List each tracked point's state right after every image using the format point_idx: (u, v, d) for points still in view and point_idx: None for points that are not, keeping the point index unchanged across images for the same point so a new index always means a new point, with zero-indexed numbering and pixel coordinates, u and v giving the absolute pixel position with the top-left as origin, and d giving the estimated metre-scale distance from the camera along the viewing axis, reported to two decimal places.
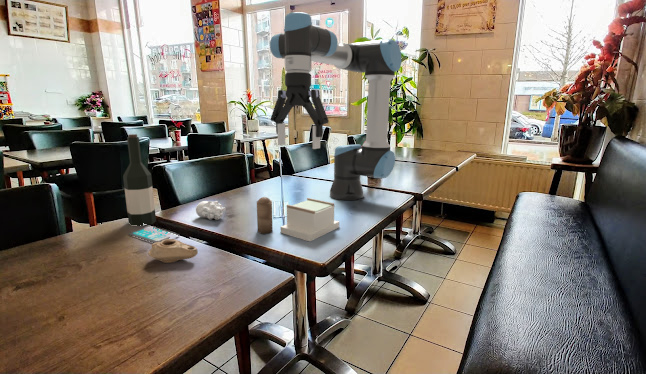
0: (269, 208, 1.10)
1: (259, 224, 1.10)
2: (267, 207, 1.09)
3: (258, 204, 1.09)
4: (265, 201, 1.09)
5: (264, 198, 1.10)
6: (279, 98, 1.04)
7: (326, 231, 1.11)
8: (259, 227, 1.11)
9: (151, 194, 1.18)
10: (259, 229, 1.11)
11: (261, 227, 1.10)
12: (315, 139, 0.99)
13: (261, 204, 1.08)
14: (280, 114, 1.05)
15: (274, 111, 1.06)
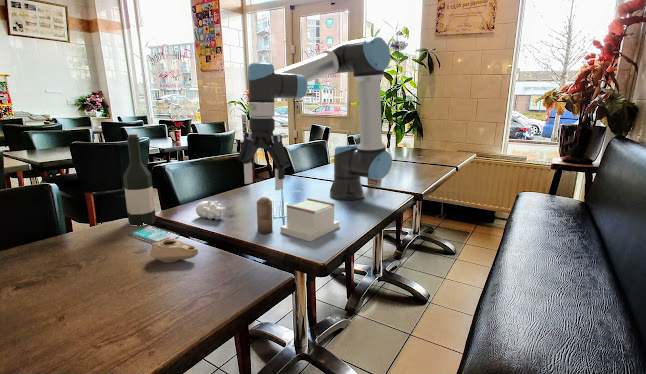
0: (269, 208, 1.10)
1: (259, 224, 1.10)
2: (267, 207, 1.09)
3: (258, 204, 1.09)
4: (265, 201, 1.09)
5: (264, 198, 1.10)
6: (245, 140, 1.09)
7: (326, 231, 1.11)
8: (259, 227, 1.11)
9: (151, 194, 1.18)
10: (259, 229, 1.11)
11: (261, 227, 1.10)
12: (277, 181, 1.04)
13: (261, 204, 1.08)
14: (246, 155, 1.10)
15: (241, 152, 1.11)
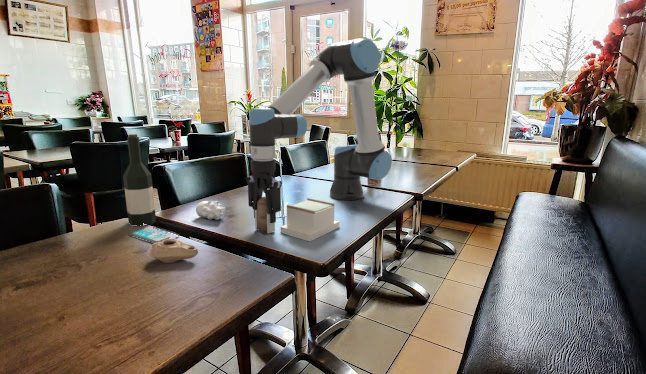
0: None
1: (260, 224, 1.11)
2: None
3: (259, 204, 1.09)
4: (265, 201, 1.09)
5: (264, 198, 1.10)
6: (249, 184, 1.11)
7: (326, 231, 1.11)
8: (260, 227, 1.11)
9: (151, 194, 1.18)
10: (260, 229, 1.11)
11: (262, 227, 1.10)
12: (269, 225, 1.10)
13: (261, 203, 1.08)
14: (254, 200, 1.11)
15: (249, 197, 1.13)
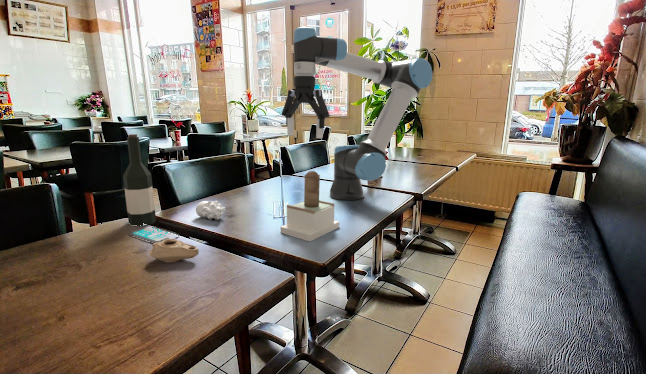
0: (317, 182, 1.09)
1: (307, 198, 1.10)
2: (316, 181, 1.09)
3: (307, 177, 1.09)
4: (314, 174, 1.09)
5: (312, 172, 1.09)
6: (289, 97, 1.26)
7: (326, 231, 1.11)
8: (307, 201, 1.10)
9: (151, 194, 1.18)
10: (306, 203, 1.11)
11: (309, 201, 1.10)
12: (318, 130, 1.21)
13: (310, 177, 1.08)
14: (289, 110, 1.27)
15: (284, 107, 1.28)
